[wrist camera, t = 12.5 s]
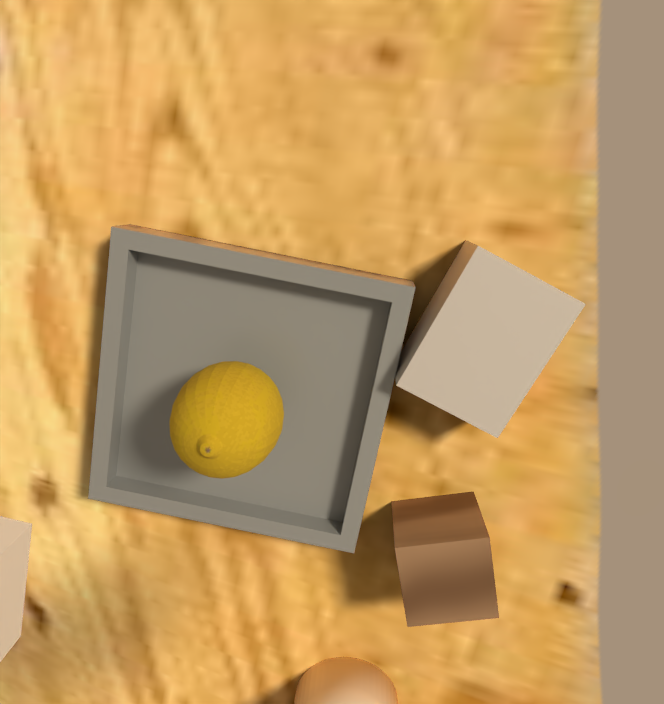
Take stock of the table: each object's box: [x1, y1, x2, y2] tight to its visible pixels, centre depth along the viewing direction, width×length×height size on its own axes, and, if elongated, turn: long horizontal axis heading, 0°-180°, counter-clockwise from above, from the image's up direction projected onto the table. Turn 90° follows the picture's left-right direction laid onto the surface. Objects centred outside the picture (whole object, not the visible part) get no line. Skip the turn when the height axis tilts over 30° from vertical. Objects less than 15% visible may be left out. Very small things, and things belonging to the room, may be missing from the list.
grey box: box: [395, 240, 585, 438], centre depth 31 cm, size 8×6×4 cm
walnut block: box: [392, 492, 499, 627], centre depth 34 cm, size 5×5×5 cm
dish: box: [88, 224, 416, 553], centre depth 33 cm, size 16×16×2 cm
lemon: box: [169, 361, 284, 479], centre depth 29 cm, size 6×6×8 cm
